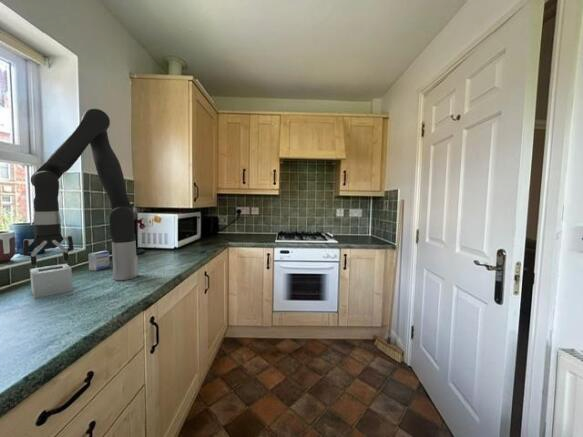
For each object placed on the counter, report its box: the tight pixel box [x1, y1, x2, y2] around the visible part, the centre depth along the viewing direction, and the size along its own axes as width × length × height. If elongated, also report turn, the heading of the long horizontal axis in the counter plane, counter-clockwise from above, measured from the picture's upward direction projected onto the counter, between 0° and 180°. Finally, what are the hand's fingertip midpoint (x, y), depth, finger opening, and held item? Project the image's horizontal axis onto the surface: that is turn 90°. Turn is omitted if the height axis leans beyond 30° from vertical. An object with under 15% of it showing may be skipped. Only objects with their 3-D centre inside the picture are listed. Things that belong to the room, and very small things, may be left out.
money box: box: [29, 263, 74, 299], centre depth 102 cm, size 11×11×9 cm
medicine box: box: [87, 250, 110, 271], centre depth 133 cm, size 8×4×9 cm, turn 168°
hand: (50, 263), depth 101 cm, fingers open, 8 cm apart
